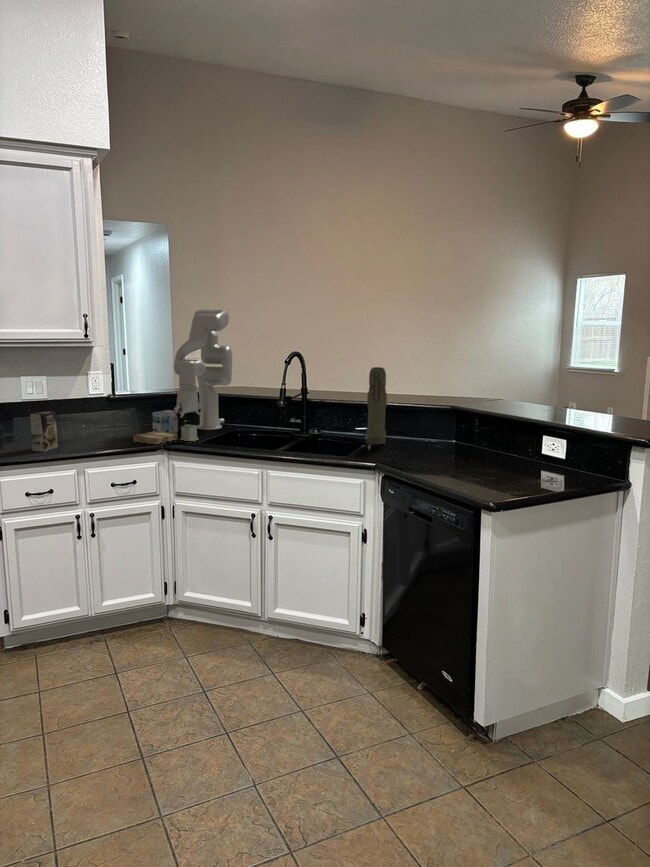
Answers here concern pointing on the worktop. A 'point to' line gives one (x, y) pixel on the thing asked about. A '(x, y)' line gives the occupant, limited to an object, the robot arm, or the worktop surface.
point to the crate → (189, 433)
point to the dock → (155, 437)
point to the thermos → (376, 406)
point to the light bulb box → (165, 421)
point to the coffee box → (43, 431)
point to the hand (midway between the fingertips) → (188, 424)
